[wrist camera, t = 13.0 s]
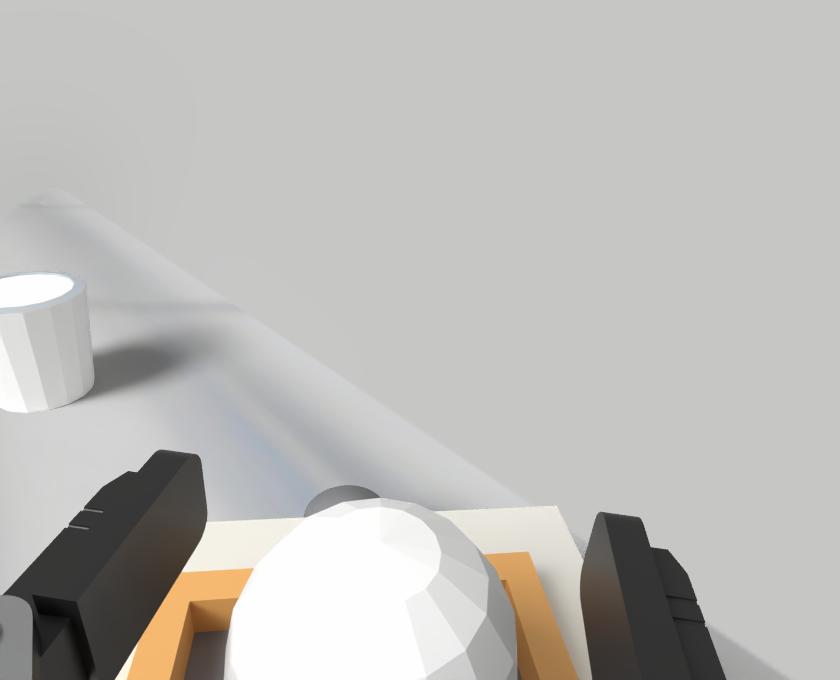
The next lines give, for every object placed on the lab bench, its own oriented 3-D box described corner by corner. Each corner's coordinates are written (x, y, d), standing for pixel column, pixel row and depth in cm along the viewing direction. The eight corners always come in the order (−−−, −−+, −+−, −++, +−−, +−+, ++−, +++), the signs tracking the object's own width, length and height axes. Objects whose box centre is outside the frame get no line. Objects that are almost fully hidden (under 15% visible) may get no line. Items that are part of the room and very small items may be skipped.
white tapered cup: (-38, 390, 37) (-73, 288, 33) (72, 353, 42) (51, 261, 39) (13, 432, 33) (-20, 323, 30) (126, 386, 38) (108, 288, 35)
